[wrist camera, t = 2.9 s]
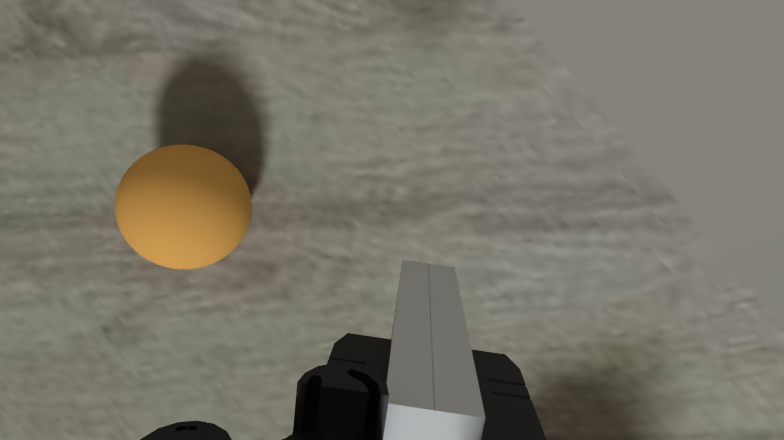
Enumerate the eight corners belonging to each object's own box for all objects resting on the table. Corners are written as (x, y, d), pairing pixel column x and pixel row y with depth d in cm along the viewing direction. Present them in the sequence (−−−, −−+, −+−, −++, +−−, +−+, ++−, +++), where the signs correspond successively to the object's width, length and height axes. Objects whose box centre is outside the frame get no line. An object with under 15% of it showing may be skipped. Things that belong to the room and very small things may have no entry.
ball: (158, 240, 24) (85, 278, 19) (159, 132, 23) (80, 141, 17) (263, 254, 24) (220, 297, 19) (270, 147, 23) (226, 160, 17)
